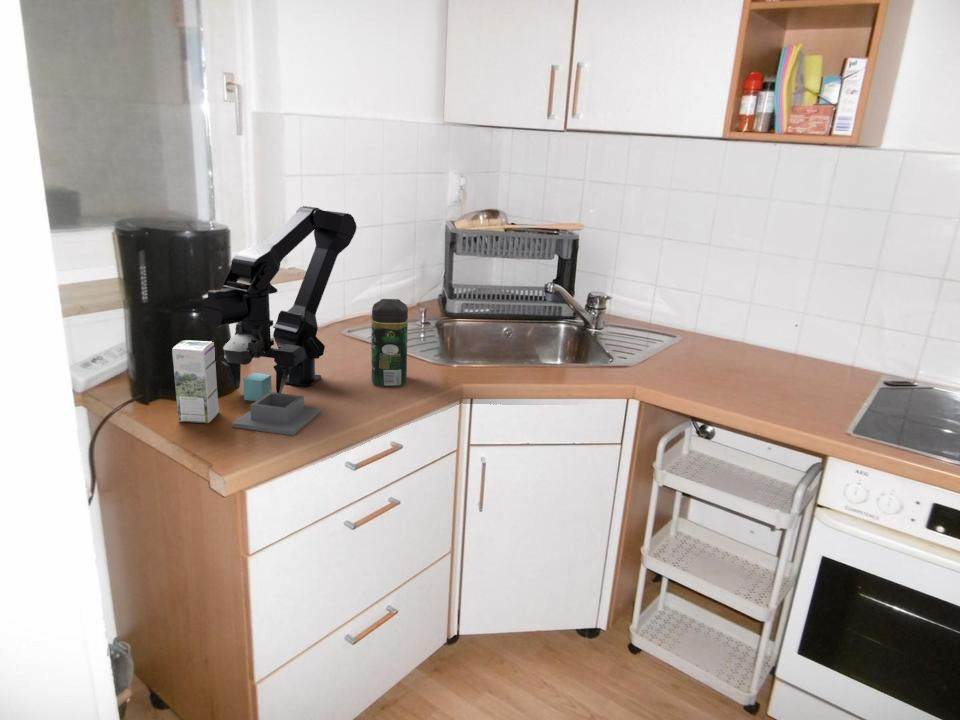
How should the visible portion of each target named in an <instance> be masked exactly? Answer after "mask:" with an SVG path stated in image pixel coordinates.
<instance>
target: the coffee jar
mask: <svg viewBox="0 0 960 720" xmlns="http://www.w3.org/2000/svg"><path fill="white" fill-rule="evenodd" d="M371 309H372V311H371V335H370V336H371V339H370V340H371V347H370V348H371V382H372V384H373V385H374V386H376V387H382V388H385V389H394V388H397V387H403V386H405V384H406V382H407V376H408V371H407V369H408V361H407V359H408V325H409V324H408V322H409V321H408V318H409V315H408V313H409V308H408V306H407V304H406V303H404V301H401V300H400V299H398V298H381V299H380V300H379V301H376V302H375V303H374V304H373V305H372V308H371Z"/></svg>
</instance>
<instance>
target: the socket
mask: <svg viewBox="0 0 960 720" xmlns="http://www.w3.org/2000/svg"><path fill="white" fill-rule="evenodd" d="M249 407H250V410H249V411H247V412H246V413H245V414H243V415H242V416H241V417H239V418H237V419H235V420H234V421H233V422H232V424H231V425H232V428H236V429H244V430H249V431H250V430H251V431H258V432H264V433H265V432H266V433H272V434H277V435H287V436H292V435H293V436H295V435H296V434H298V433H299V432H300V431H301V430H302V429H303V428H304V427H305V426H306V425H308V424H309V423H310V422H311V421H312V420H313V419H314V418H316V417H317V416H318V415H319V414H320V413H321V412H322V407H316V406H309V405H305V396H303V395H297V394H296V395H295V394H289V393H282V392H281V393H277V392H276V391H275V392H274V391H272V392H268V393H267V394H265V395H264V396H262V397H261V398H260V399H258V400H257V401H253V402H252V403H251V404H250V406H249ZM293 436H292V437H293Z"/></svg>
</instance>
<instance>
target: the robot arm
mask: <svg viewBox="0 0 960 720" xmlns="http://www.w3.org/2000/svg"><path fill="white" fill-rule="evenodd" d="M357 228H358V227H357V222H356V221H355V218H354V217H353V215H352V214H351V213H348V212H347V213H345V212H337V211H331V210H324V209H321V208H319V207H312V206H306V205H305V206H304V205H303V206H302V207H301V206H300V207H298V208H297V210H296V212H295V214H293V215H292V216H291V217H290V218H289V219H287V220H286V221H285V222H284V223H283V224H282V225H280V227H279V228H277V229H276V230H275V231H274V232H273V233H271V235H270V236H268V237H267V238H266V239H265V240H264V241H262V242H260V243H257V244H255V245H252V246H248V247H246V248H245V249H243V250H241V251H240V252H237V254H235V255H234V256H233V257H232V259H231V264H230V266H229V268H228V270H227V273H226V274H225V276H224V278H223V280H222V281H221V284H220V289H212V290H211V289H210V290H208V291H207V297H206V298H204V299H203V301H202V303H201V306H200V314H201V317H202V319H203V321H204V323H205V324H206V325H208V327H210V328H213V329H216V328H220V327H223V326H229V325H233V324H236V325H235V326H236V327H235V332H234V335H233V336H232V337H229V338H230V340H229V341H228V342H227V343H225V344H224V346H223V347H222V350H221V355H220V358H221V357H222V356H223V355H224V359H222V360H221V362H222V363H223V364H224V365H225V368H226V369H225V368H224V369H225V370H226V373H227V375H228V377H229V379H230V381H231V384H232V385H233V388H234V390H239V389H240V387H241V369H242V368H241V365H244V366H247V365H249V364H250V363H252V361H253V359H260V358H270V359H273V361H274V363H275V365H273V369H274V371H275V393H282V392H283V389H284V387H285V385H287V384H288V385H294V386H302V387H312V385H314V384H315V383H316V382H318V381H319V380H320V379H321V378H322V375H320V374H316V359H317V360H318V359H320V357H321V356H323V355H324V353H325V349H326V345H325V344H324V343H323V342H322V341H321V340H320V339H319V338H318V337H317V333H318V329H319V328H318V327H319V326H318V321H317V316H316V315H317V311H318V309H319V307H320V303H321V301H322V298H323V295H324V293H325V290H326V287H327V285H328V282H329V279H330V276H331V274H332V271H333V269H334V265H335V263H336V261H337V258H338V256H339V254H340V253H342V252H343V251H344V250H345V249H346V248H347V247H349V246H350V244H351V242H352V240H353V239H354V236H355V234H356V233H357V232H356V231H357ZM312 232H313V236H314V242H315V247H314V250H313V253H312V255H311V258H310V261H309V264H308V266H307V269H306V271H305V274H304V277H303V280H302V282H301V285H300V288H299V290H298V292H297V296H296V298H295V300H294V303H293V305H292V307H291V308H289V309H288V310H287V311H286V310H280V312H278V316H277V320H276V322H275V323H274V320H272V319H271V316H270V314H271V313H270V312H271V311H270V294H275V293H277V292H278V288H276V287H275V286H274V285H272V284H271V281H272V280H273V279H274V277H275V276H276V275H277V274H278V273H279V271H280V269H281V268H280V266H281V262H282V261H283V260H284V259H285V257H286V256H287V255H290V253H291V252H292V251H293V250H295V248H297V247H298V245H300V244H301V243H302V242H303V241H304V240H305V239H306V238H307V237H308V236H309V235H310V234H311V233H312ZM271 327H272V328H273V329H274V331H273V334H272V337H273V338H274V339H272V338H271ZM275 344H276V346H277V348H273V347H272V346H274V345H275Z"/></svg>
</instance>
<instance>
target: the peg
mask: <svg viewBox="0 0 960 720" xmlns="http://www.w3.org/2000/svg"><path fill="white" fill-rule="evenodd" d="M242 382H243V384H242V385H243V387H242V389H243V400H244V401H245V400H247V401H252V402H255V401H257V400H258V399H260V398H261V397H262V396H264V395H265V394H267V393H268V392H273V391H272V388H273V387H272V385H273V384H272V375H271V374H264V373H259V372H258V373H257V372H252V373H250V374H249V375H247V376H246V377H244V378H242Z"/></svg>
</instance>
